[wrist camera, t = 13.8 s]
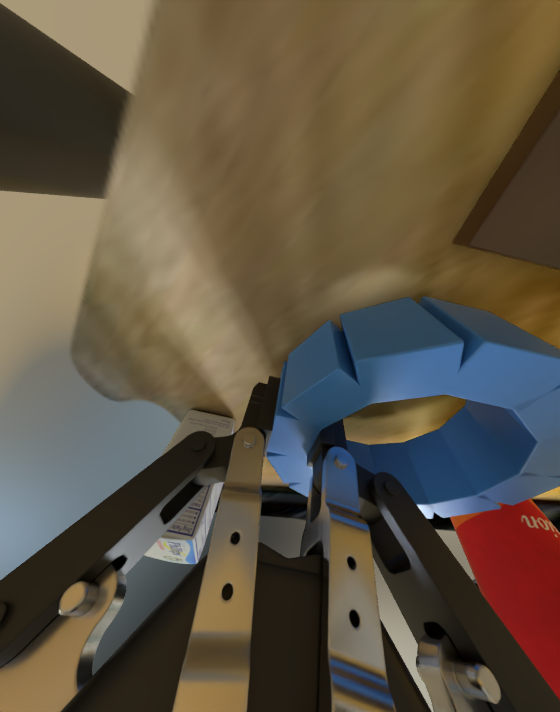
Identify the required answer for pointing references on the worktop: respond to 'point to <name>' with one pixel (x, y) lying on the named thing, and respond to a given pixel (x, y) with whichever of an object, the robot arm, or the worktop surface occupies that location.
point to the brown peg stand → (523, 194)
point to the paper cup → (519, 577)
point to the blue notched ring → (422, 379)
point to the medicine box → (194, 523)
